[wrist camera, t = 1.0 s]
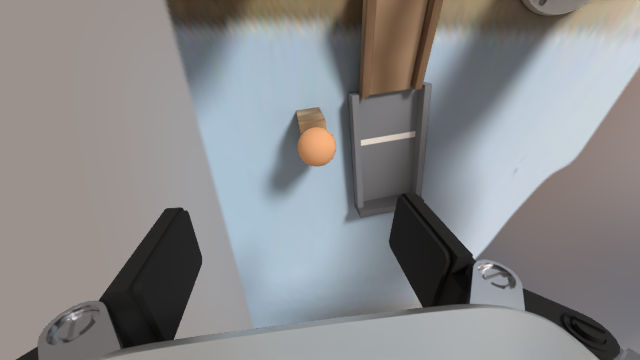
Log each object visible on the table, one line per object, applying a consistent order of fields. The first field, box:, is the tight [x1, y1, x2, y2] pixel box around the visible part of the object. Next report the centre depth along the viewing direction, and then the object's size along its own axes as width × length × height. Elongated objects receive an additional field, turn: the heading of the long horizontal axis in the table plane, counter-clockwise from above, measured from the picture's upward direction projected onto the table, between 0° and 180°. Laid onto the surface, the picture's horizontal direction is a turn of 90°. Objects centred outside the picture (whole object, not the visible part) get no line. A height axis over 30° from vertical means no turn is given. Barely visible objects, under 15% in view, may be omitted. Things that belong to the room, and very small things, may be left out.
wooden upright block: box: [296, 107, 326, 136], centre depth 29 cm, size 3×5×5 cm, turn 7°
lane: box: [348, 82, 432, 218], centre depth 33 cm, size 10×17×3 cm, turn 7°
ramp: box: [359, 0, 443, 98], centre depth 25 cm, size 7×12×6 cm, turn 7°
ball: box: [297, 127, 336, 166], centre depth 25 cm, size 4×4×4 cm
